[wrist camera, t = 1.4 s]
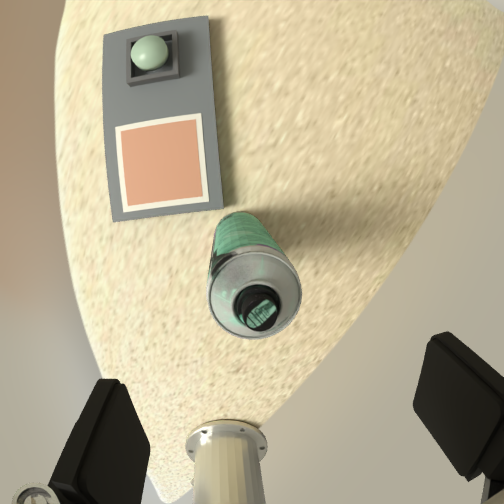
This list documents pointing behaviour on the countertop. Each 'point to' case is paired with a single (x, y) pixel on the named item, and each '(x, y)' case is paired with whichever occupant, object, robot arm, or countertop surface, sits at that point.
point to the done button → (149, 53)
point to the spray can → (250, 280)
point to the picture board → (161, 124)
